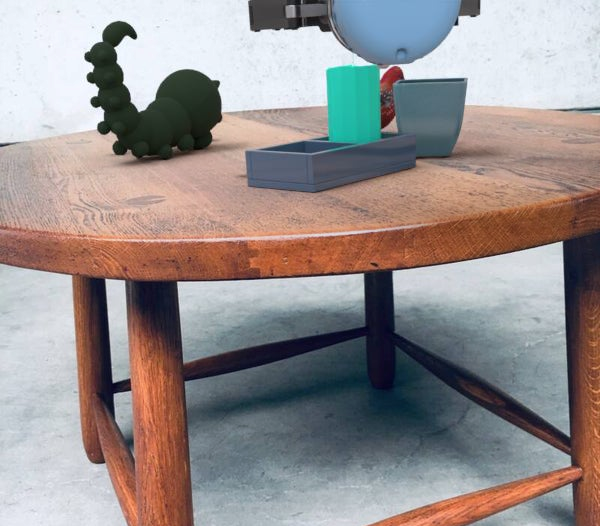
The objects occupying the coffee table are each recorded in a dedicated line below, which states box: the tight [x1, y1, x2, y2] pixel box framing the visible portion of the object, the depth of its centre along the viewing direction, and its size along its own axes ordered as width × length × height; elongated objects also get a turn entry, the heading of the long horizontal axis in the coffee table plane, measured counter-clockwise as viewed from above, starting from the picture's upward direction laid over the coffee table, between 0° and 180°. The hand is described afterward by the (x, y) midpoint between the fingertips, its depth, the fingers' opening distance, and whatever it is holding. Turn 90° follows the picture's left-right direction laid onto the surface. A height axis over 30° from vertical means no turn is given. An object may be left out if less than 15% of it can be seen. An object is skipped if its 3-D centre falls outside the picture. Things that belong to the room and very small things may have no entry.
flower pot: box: [393, 77, 469, 158], centre depth 112 cm, size 9×9×9 cm
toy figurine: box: [83, 20, 223, 160], centre depth 124 cm, size 9×19×25 cm
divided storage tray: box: [244, 131, 417, 193], centre depth 101 cm, size 10×18×4 cm, turn 139°
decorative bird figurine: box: [380, 65, 406, 130], centre depth 126 cm, size 3×18×10 cm, turn 139°
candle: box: [325, 52, 382, 143], centre depth 102 cm, size 6×6×12 cm
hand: (358, 9), depth 86 cm, fingers open, 13 cm apart
